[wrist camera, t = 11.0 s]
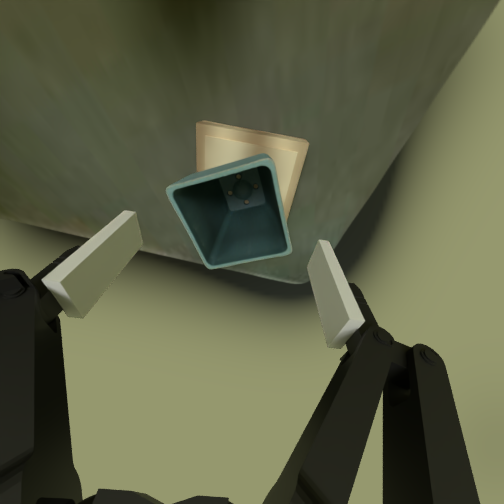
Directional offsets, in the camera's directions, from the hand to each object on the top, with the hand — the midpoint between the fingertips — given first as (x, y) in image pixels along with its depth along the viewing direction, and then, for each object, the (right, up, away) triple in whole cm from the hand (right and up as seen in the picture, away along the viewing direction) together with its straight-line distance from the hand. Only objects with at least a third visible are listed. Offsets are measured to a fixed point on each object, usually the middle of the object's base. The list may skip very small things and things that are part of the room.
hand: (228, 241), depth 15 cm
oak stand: (+1, +9, +12) cm, 15 cm away
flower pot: (+1, +7, +10) cm, 12 cm away
